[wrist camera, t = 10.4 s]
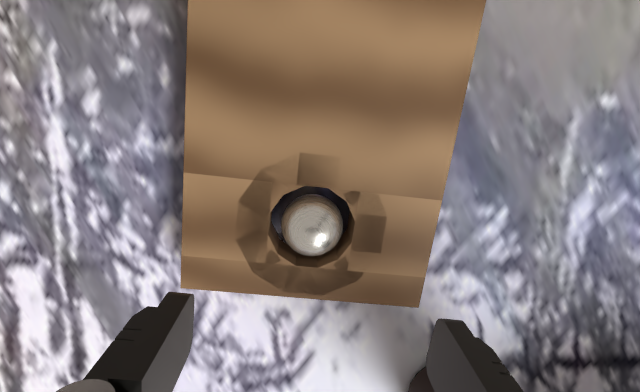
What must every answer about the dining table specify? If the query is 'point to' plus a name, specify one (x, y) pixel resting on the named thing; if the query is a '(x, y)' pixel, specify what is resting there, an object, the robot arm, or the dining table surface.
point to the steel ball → (311, 225)
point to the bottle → (421, 383)
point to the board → (321, 139)
